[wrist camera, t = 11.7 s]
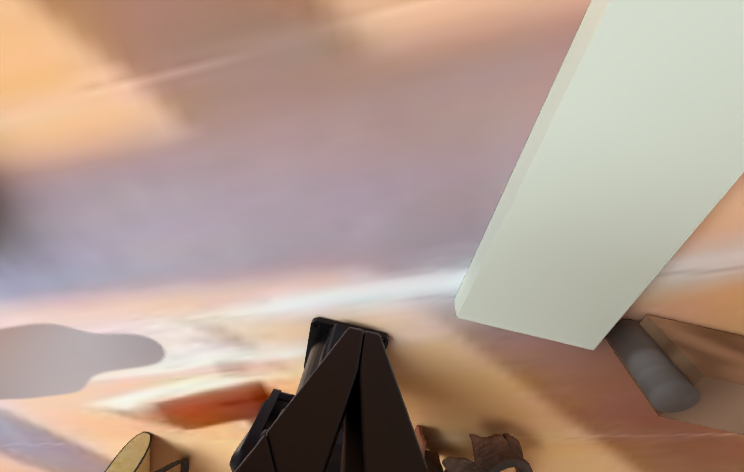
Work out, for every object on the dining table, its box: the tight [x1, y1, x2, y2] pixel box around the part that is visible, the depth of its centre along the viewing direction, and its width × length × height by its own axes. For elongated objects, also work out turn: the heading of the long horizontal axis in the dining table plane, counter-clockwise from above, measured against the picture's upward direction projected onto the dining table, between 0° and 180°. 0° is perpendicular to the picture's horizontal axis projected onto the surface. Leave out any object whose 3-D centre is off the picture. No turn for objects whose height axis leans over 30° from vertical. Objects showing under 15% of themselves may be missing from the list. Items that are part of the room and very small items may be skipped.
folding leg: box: [605, 315, 744, 435], centre depth 21 cm, size 16×4×5 cm, turn 79°
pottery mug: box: [415, 425, 533, 472], centre depth 30 cm, size 12×10×8 cm
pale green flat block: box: [454, 0, 744, 350], centre depth 18 cm, size 20×10×2 cm, turn 168°
